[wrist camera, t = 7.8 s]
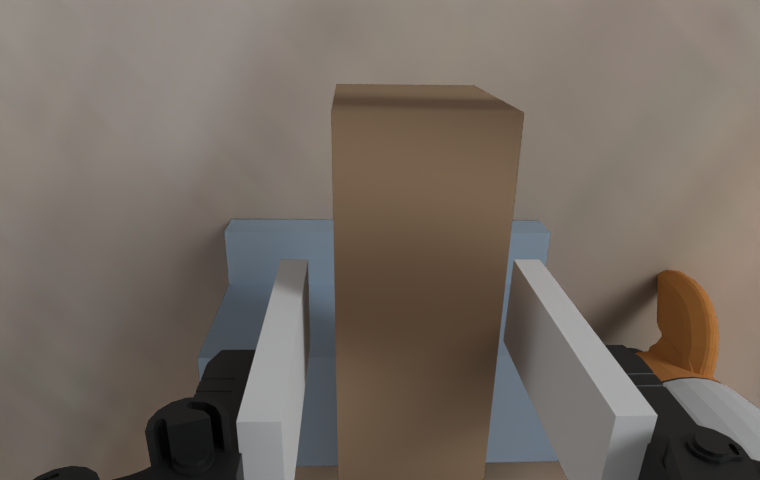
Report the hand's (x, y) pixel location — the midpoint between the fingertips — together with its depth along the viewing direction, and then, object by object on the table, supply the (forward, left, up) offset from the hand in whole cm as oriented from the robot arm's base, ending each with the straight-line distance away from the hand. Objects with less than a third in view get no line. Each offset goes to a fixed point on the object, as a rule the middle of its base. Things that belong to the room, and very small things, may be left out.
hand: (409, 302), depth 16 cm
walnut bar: (+6, 0, -2) cm, 7 cm away
